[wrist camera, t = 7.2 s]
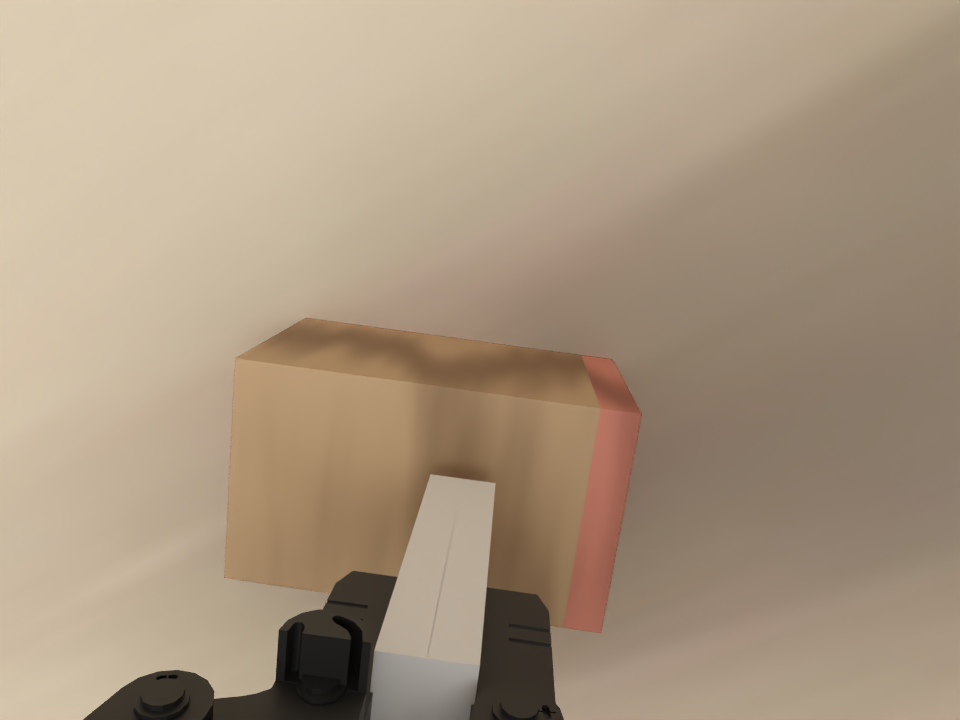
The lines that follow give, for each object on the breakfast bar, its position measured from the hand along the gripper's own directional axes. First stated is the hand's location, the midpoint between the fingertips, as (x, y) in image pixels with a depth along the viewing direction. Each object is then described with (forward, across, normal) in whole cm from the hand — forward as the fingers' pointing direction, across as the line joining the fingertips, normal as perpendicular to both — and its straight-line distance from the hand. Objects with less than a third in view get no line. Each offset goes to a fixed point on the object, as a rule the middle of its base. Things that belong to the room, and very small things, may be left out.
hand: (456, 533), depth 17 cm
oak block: (+5, -4, 0) cm, 6 cm away
